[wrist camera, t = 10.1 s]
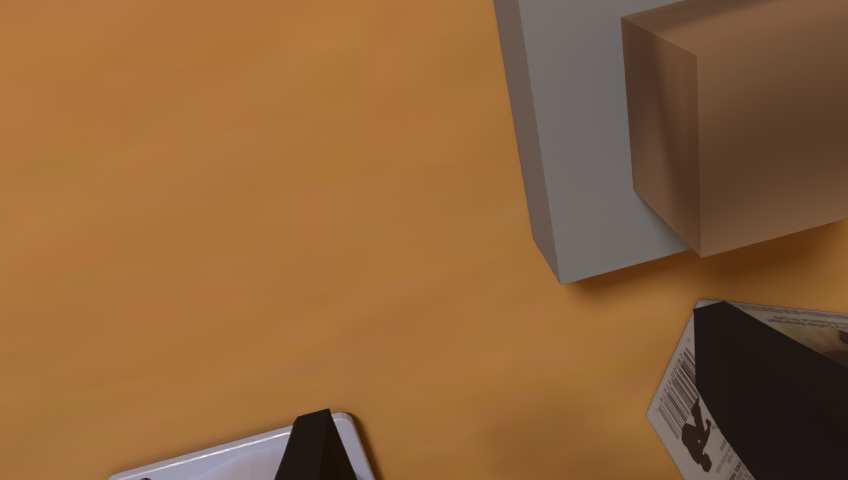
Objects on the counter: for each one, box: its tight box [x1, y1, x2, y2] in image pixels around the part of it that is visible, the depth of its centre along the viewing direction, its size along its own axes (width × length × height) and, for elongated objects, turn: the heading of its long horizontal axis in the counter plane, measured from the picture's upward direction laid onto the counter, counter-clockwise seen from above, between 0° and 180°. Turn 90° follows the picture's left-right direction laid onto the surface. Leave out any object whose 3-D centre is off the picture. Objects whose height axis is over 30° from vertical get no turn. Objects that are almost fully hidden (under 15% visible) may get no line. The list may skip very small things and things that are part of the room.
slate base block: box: [494, 0, 692, 285], centre depth 20 cm, size 10×10×3 cm
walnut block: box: [621, 0, 848, 258], centre depth 17 cm, size 5×5×4 cm
